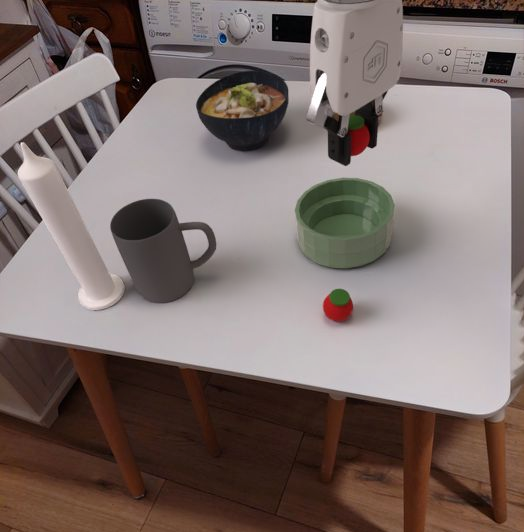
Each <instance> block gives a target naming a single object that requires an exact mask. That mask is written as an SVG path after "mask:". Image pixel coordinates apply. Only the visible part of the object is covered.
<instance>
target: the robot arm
mask: <svg viewBox="0 0 524 532" xmlns="http://www.w3.org/2000/svg"><path fill="white" fill-rule="evenodd" d="M313 5H314V6H313V12H312V20H311V31H310V45H309V46H310V48H309V85H310V95H311V96H310V97H311V100H310V104H309V107H308V109H307V112H306V116H305V121H306V122H307V123H309V124H312V125H314V126H316V127H320V128H323V130H325V131H326V132H327V156H328V158H329V159H330V160H332V161H334V162H335V163H337V164H340V165H342V166H344V167H348V166H350V165H351V161H352V156H351V134H350V133H348V132H347V131H348V123H349V116H350V113H352V112H354V111H355V115H358V116H361V117H363V118H364V125H365V126H366V127H367V129H368V131H369V137H370V138H369V143H368V146H367V147H366V148H369V149H374V148H376V147H377V146H378V132H379V121H378V118H379V116H377V115H379V114H380V113H381V112H382V109H383V110H384V99H385V98H386V96H387V94H388V92H389V90H392V88H394V86H395V85H397V83H398V82H399V80H400V78H401V71H402V64H403V63H402V62H403V61H402V60H403V44H404V43H403V40H404V13H403V12H404V9H403V0H317V1H316V2H315V3H314V4H313ZM359 108H360V109H359ZM335 113H338V114H339V120H338V121H337V120H336V119H334V114H335Z"/></svg>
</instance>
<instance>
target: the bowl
mask: <svg viewBox="0 0 524 532" xmlns="http://www.w3.org/2000/svg"><path fill="white" fill-rule="evenodd" d="M289 99H290V98H289V86H288V84H287V82H286V81H285V80H284V79H283V78H281V76H279V75H277V74H276V73H272V72H269V71H262V70H245V71H243V70H242V71H237V72H233V73H230V74H228V75H226V76H223V77H221V78H219V79H217V80H216V81H214V82H213V83H211V84H210V85H209V86H207V87H206V88H205V89H204V90H203V91H202V92H201V94H199V96H198V97H197V100H196V102H195V108H196V112H197V115H198V119H199V120H200V121H201V123H202V124H203V126H204V127H205V129H207V130H208V132H209V133H210V134H212V135H213V136H214V137H216V138H217V139H218V140H220V141H222V142H224V143H225V144H226V145H227V146H228V147H229V148H230V149H231V150H234V151H238V152H248V151H254V150H257V149H259V148H261V147H264V146H265V145H266V144H268V142H269V141H270V138H271V136H272V134H273V133H274V132H275V131H277V129H278V127H279V126H280V125H281V123H282V121H283V119H284V118H285V116H286V113H287V109H288V107H289V104H290V103H289Z"/></svg>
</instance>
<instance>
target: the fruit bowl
mask: <svg viewBox="0 0 524 532" xmlns="http://www.w3.org/2000/svg"><path fill="white" fill-rule="evenodd" d="M395 206H396V205H395V201H394V199H393V197H392V194H391V193H390V192H389V191H388V190H387V189H385V187H383V186H382V185H380V184H378V183H376V182H374V181H372V180H368V179H364V178H359V177H339V178H332V179H327V180H325V181H322V182H319V183H317V184H314V185H313V186H311V187H310V188H308V189H306V190H305V191H303V193H302V194H301V196H300V197H299V198H298V199H297V200H296V204H295V208H294V216H295V217H294V218H295V227H296V238H297V244H298V248H299V249H300V251H301V252H302V253H303V255H304V256H305V257H306V258H308V259H309V260H311V261H312V262H314V263H315V264H318V265H320V266H324V267H327V268H332V269H333V268H334V269H352V268H359V267H362V266H365V265H367V264H370V263H372V262H375V261H376V260H377V259H379V258H380V257H381V256H382V255H384V253H386V252H387V250H388V248H389V247H390V246H391V243H392V237H393V227H394V218H395V217H394V216H395Z"/></svg>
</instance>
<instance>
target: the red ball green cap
mask: <svg viewBox="0 0 524 532" xmlns="http://www.w3.org/2000/svg"><path fill="white" fill-rule="evenodd" d="M347 132H348V133H350V134H351V157H356V156H359V155H360V154H362V153H363V152H364V151H365V150H366V149H367V148H368V147H367V146H368V143H369V138H370V137H369V131H368V129H367V127H366V126H365V125H364V118H363V117H361V116H358V115H350V116H349V123H348V131H347Z"/></svg>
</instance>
